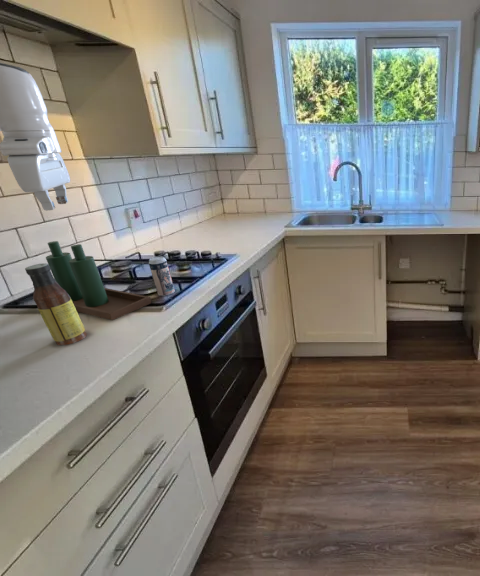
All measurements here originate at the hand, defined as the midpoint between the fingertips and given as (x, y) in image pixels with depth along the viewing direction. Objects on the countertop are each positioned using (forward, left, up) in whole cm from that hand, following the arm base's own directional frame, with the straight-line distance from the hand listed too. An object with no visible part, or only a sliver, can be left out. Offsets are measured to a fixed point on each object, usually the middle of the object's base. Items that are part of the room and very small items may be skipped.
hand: (57, 206), depth 87 cm
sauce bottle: (+5, -10, -31) cm, 33 cm away
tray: (-11, +6, -31) cm, 34 cm away
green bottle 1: (-22, +6, -31) cm, 38 cm away
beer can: (+2, +19, -31) cm, 37 cm away
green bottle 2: (-11, +6, -31) cm, 33 cm away
